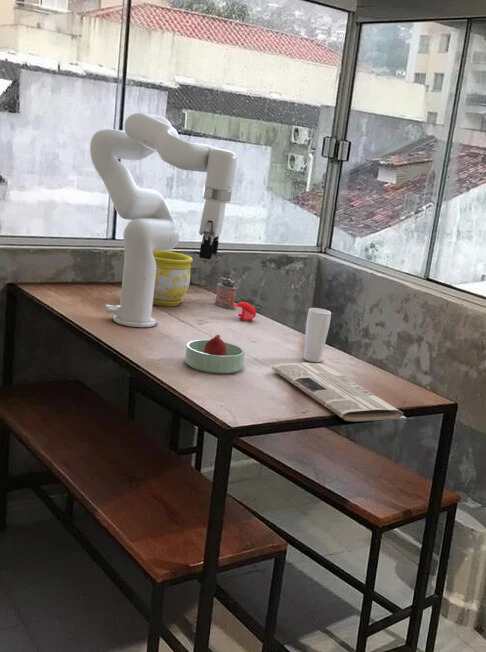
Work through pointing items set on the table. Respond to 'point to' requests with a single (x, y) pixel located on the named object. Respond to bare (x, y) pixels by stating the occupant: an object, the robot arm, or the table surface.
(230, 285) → the lighter
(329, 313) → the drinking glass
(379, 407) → the newspaper
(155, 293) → the flowerpot
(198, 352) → the bowl
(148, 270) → the robot arm
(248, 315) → the red toy figurine
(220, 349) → the onion
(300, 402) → the table surface
